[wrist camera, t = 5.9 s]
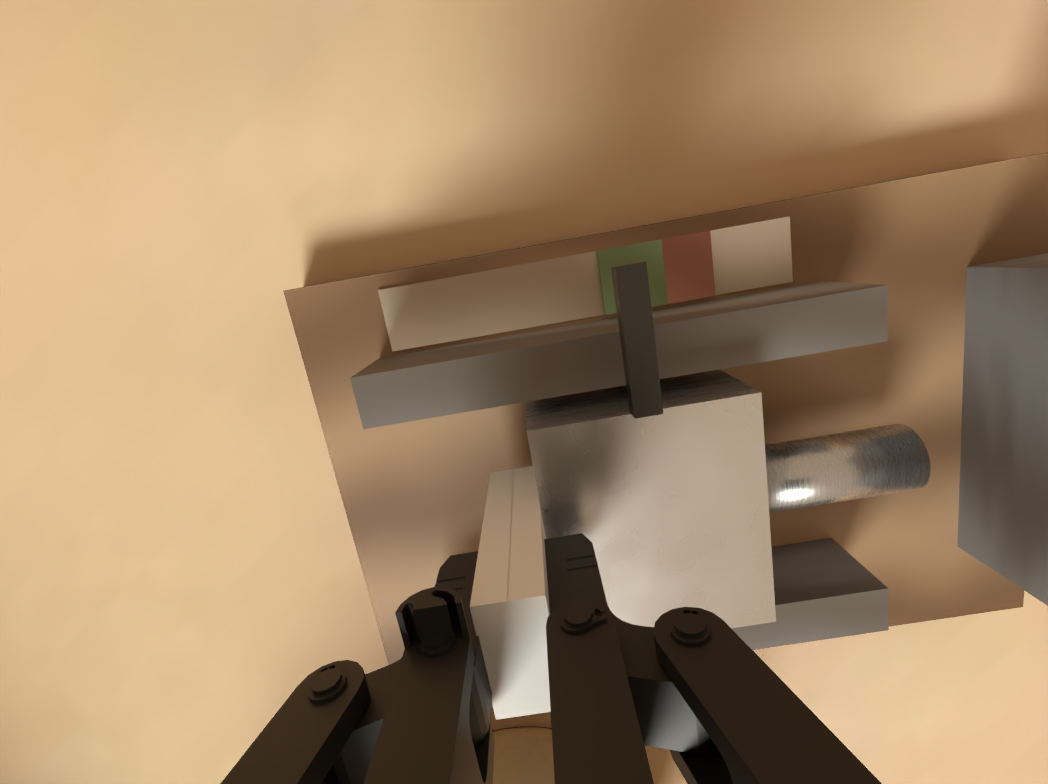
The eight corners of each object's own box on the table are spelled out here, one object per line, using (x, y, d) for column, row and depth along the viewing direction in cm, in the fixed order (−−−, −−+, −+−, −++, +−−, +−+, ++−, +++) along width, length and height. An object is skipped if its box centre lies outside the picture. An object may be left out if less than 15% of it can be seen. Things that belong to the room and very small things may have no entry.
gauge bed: (1000, 580, 21) (1380, 833, 12) (406, 669, 22) (321, 967, 13) (1024, 157, 17) (1620, 34, 8) (302, 288, 18) (70, 316, 9)
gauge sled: (864, 524, 18) (977, 611, 14) (557, 571, 19) (569, 671, 14) (859, 217, 16) (996, 199, 11) (505, 280, 16) (498, 287, 12)
